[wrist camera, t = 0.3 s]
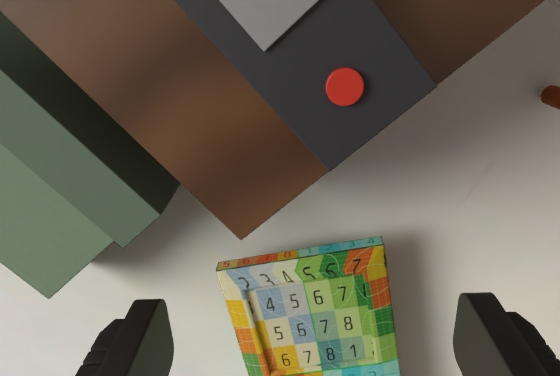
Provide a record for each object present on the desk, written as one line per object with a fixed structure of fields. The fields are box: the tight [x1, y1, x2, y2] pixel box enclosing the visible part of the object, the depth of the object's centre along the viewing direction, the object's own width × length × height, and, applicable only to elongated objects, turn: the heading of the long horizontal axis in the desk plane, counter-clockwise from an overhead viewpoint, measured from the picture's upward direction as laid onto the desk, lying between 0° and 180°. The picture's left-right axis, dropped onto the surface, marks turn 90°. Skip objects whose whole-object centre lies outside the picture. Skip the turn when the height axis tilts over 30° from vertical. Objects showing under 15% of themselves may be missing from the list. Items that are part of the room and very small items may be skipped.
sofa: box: [0, 11, 181, 299], centre depth 26 cm, size 14×14×10 cm
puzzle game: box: [216, 236, 401, 376], centre depth 35 cm, size 12×5×20 cm
